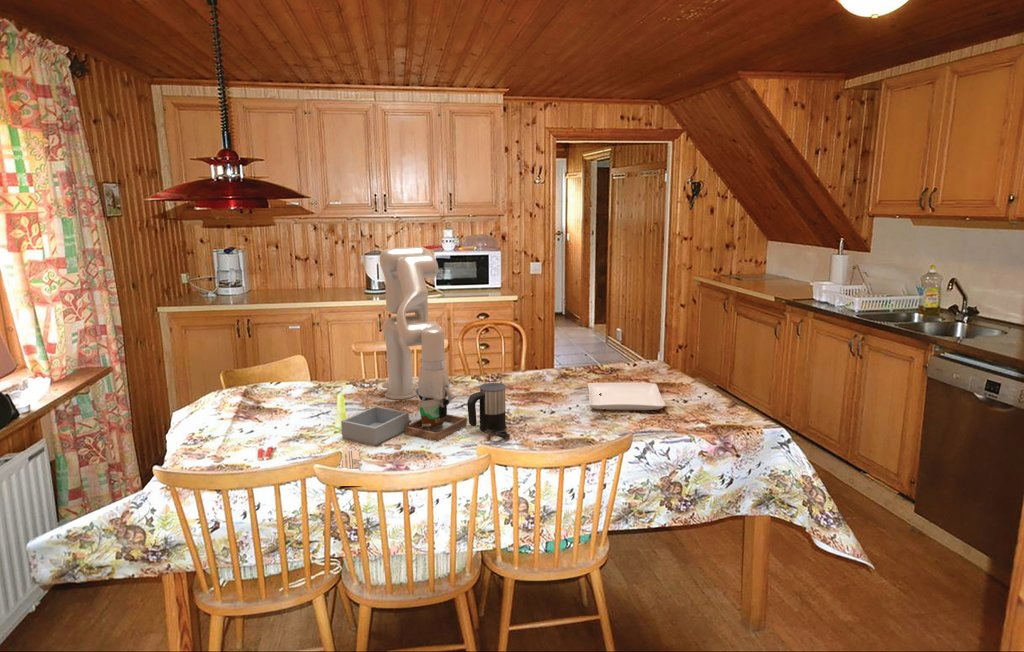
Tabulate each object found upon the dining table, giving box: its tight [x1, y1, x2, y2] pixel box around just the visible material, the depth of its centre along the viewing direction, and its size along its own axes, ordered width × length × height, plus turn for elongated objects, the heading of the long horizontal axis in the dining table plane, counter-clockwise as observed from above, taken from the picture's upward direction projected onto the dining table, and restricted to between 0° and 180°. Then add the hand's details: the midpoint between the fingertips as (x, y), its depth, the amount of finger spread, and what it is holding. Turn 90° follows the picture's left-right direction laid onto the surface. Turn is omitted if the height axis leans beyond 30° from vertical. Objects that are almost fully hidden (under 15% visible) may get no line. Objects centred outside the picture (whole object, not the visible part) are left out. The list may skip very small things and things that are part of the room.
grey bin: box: [340, 405, 410, 447], centre depth 209 cm, size 15×17×6 cm
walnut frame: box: [404, 413, 468, 442], centre depth 212 cm, size 14×17×2 cm
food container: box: [417, 398, 445, 430], centre depth 211 cm, size 12×6×10 cm, turn 159°
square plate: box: [587, 382, 666, 411], centre depth 238 cm, size 27×27×4 cm
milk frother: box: [466, 382, 511, 440], centre depth 207 cm, size 14×16×15 cm
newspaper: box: [341, 449, 362, 471], centre depth 182 cm, size 24×7×2 cm, turn 16°
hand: (435, 414), depth 212 cm, fingers closed on food container, 5 cm apart
